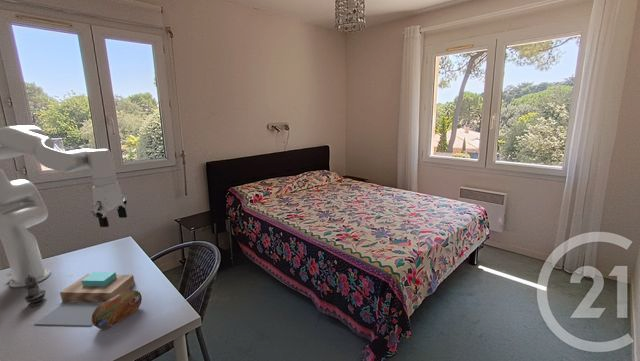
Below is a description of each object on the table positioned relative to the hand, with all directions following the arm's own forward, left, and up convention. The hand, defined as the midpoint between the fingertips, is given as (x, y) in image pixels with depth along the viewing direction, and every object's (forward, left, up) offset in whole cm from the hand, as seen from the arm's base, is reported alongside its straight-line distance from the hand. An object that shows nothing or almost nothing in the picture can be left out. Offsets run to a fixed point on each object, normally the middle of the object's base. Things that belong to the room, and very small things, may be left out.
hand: (114, 221), depth 116 cm
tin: (+16, -24, -26) cm, 38 cm away
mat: (-1, -22, -26) cm, 34 cm away
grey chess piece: (-22, -17, -26) cm, 38 cm away
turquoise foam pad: (-3, -9, -22) cm, 24 cm away
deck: (-3, -10, -26) cm, 28 cm away
